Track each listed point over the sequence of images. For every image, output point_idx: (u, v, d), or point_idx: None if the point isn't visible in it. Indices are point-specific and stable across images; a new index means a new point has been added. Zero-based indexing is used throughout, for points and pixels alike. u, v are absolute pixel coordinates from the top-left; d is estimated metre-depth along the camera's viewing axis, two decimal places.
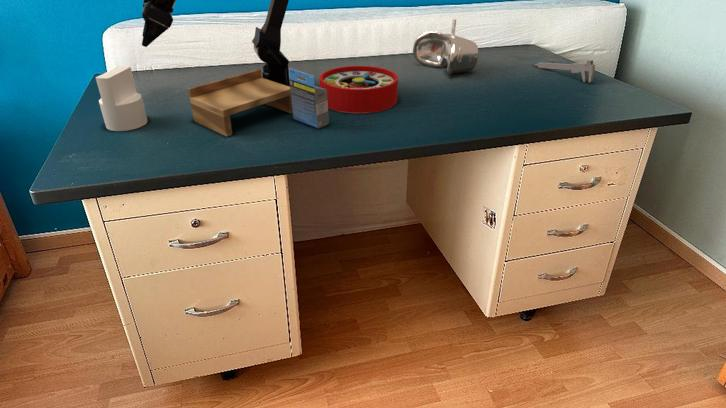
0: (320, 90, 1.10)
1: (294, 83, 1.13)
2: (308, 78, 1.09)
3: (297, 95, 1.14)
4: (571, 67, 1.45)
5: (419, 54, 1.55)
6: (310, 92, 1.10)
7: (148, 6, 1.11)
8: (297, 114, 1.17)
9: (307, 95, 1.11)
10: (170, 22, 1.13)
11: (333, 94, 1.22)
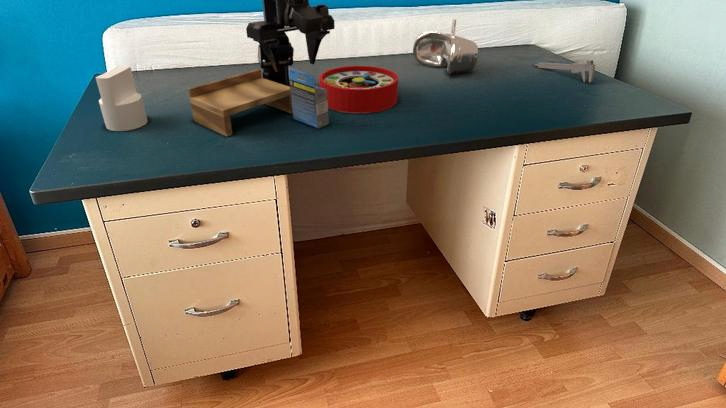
0: (320, 90, 1.10)
1: (294, 83, 1.13)
2: (308, 78, 1.09)
3: (297, 95, 1.14)
4: (572, 67, 1.45)
5: (419, 54, 1.55)
6: (310, 92, 1.10)
7: (332, 18, 1.08)
8: (297, 114, 1.17)
9: (307, 95, 1.11)
10: None
11: (333, 94, 1.22)
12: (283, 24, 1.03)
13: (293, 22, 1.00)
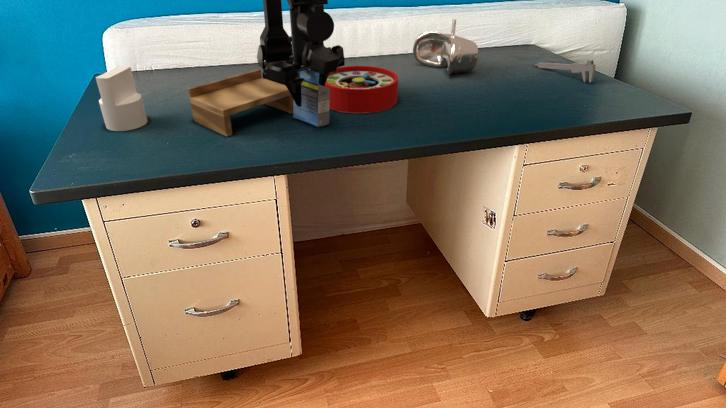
0: (323, 88, 1.11)
1: None
2: (313, 75, 1.09)
3: None
4: (572, 67, 1.45)
5: (419, 54, 1.55)
6: (313, 89, 1.11)
7: None
8: (298, 112, 1.17)
9: (310, 92, 1.12)
10: None
11: (333, 94, 1.22)
12: (300, 64, 1.08)
13: (311, 63, 1.05)
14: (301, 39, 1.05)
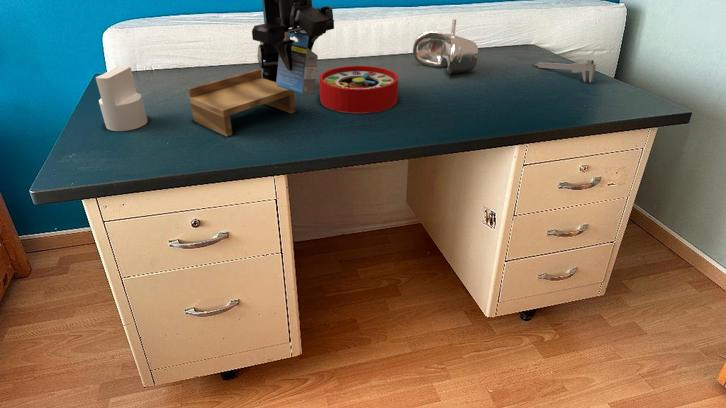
0: (312, 53, 1.07)
1: None
2: (302, 39, 1.06)
3: None
4: (572, 67, 1.45)
5: (419, 54, 1.55)
6: (301, 53, 1.07)
7: None
8: (281, 79, 1.12)
9: (297, 57, 1.08)
10: None
11: (333, 94, 1.22)
12: (288, 26, 1.04)
13: (299, 24, 1.02)
14: None
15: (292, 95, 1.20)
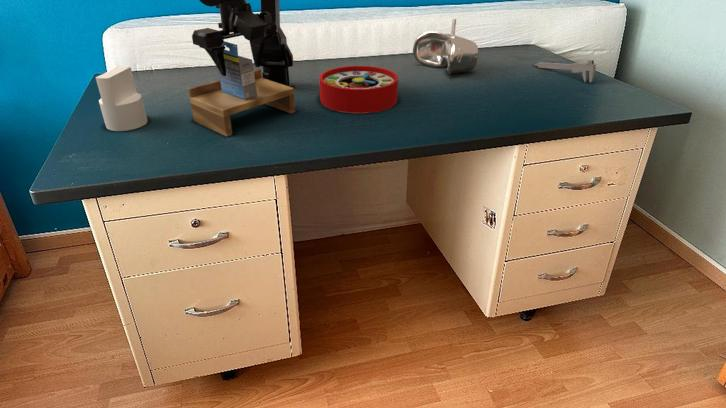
0: (244, 60, 1.09)
1: None
2: (232, 48, 1.07)
3: None
4: (572, 67, 1.45)
5: (419, 54, 1.55)
6: (234, 62, 1.09)
7: (275, 23, 1.13)
8: (225, 86, 1.15)
9: (232, 65, 1.10)
10: None
11: (333, 94, 1.22)
12: (228, 31, 1.07)
13: (238, 29, 1.05)
14: (227, 5, 1.04)
15: (292, 95, 1.20)
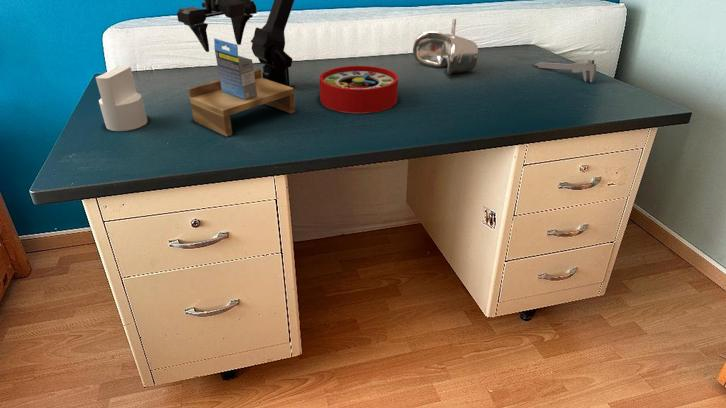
0: (245, 60, 1.09)
1: (220, 54, 1.11)
2: (232, 48, 1.07)
3: (223, 66, 1.12)
4: (572, 67, 1.45)
5: (419, 54, 1.55)
6: (234, 62, 1.09)
7: (254, 3, 1.23)
8: (225, 86, 1.15)
9: (232, 65, 1.10)
10: None
11: (333, 94, 1.22)
12: (210, 9, 1.17)
13: (219, 8, 1.15)
14: None
15: (292, 95, 1.20)
